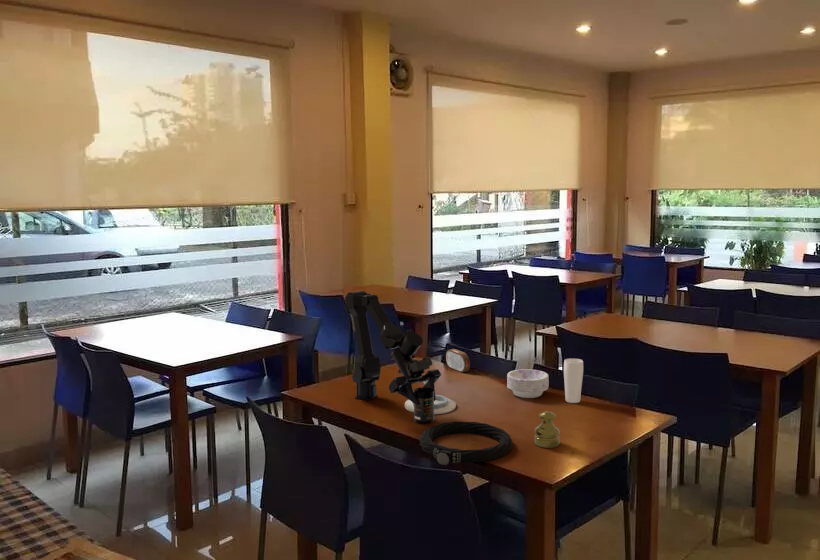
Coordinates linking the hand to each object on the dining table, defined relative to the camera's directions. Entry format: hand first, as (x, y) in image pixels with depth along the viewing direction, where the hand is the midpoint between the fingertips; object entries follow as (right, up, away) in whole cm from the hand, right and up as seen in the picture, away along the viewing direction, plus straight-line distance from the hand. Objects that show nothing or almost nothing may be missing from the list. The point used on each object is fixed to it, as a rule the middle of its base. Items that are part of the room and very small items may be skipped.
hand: (426, 402), depth 226 cm
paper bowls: (+38, -3, +30) cm, 49 cm away
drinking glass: (+53, -4, +22) cm, 57 cm away
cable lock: (+11, -10, -21) cm, 26 cm away
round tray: (+2, -4, +17) cm, 18 cm away
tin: (+15, +2, +67) cm, 68 cm away
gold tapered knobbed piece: (+36, -9, -20) cm, 42 cm away
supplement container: (-1, -7, +2) cm, 7 cm away
